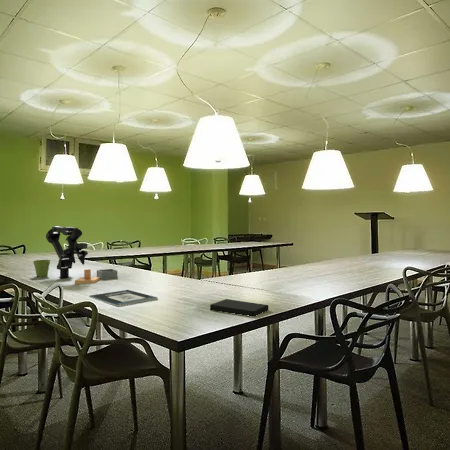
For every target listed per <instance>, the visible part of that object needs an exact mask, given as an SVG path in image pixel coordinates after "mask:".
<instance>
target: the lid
mask: <svg viewBox="0 0 450 450" xmlns="http://www.w3.org/2000/svg"><path fill="white" fill-rule="evenodd" d="M91 271H92V269H90V268H89V269H87V268H86V269H84V270H83V274H84V275H83V276H81V277H79V278H76V279H75V280H74V285H76V286H77V285H80V284H96V283H97V282H99V281H100V280H101V279H100V277H97V276H92V272H91Z"/></svg>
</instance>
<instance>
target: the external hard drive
mask: <svg viewBox="0 0 450 450" xmlns="http://www.w3.org/2000/svg"><path fill="white" fill-rule="evenodd" d="M209 307H210V311H212V310H215V311H214V312H218V311H222V312H221V313H224V312H228V313H227V314H230V313H235V314H234V315H237V314H242V315H241V316H243V315H249V316H255V317H257V316H256V315H258V314H260V313H262V312H264V313H266V312H268V311H269V304H264V303H256V302H250V301H249V302H248V301H243V300H235V299H228V298H226V299H223V300H220V301H217V302H214V303H211V304H210V306H209ZM267 310H268V311H267ZM265 311H266V312H265ZM262 314H263V313H262ZM260 315H261V314H260ZM249 316H248V317H249ZM258 316H259V315H258Z"/></svg>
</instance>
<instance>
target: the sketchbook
mask: <svg viewBox="0 0 450 450" xmlns="http://www.w3.org/2000/svg"><path fill="white" fill-rule="evenodd" d="M89 297H90V298H92V299H94V298H95V300H97V299H98V301H100V300H101V301H100V302H103V301H104V302H103V303H106V302H107V303H106V304H108V303H110V304H109V305H111V304H113V305H112V306H114V305H116V306H115V307H117V306H118V307H119V306H120V305H122V306H121V307H124V306H125V305H126V304H127V305H126V306H129V305H128V304H130V305H134V304H133V303H135V304H137V303H138V302H140V303H138V304H141V303H147V302H148V301H149V302H152V301H157V300H158V297H157V296H153V295H149V294H145V293H141V292H138V291H134V290H130V289H124V290H123V289H122V290H117V291H110V292H103V293H96V294H92V295H89ZM150 300H151V301H150ZM144 301H145V302H144ZM123 305H124V306H123Z"/></svg>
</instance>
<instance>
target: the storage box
mask: <svg viewBox="0 0 450 450" xmlns="http://www.w3.org/2000/svg"><path fill="white" fill-rule="evenodd" d="M96 277H100V280H102V281H103V280H112V279H113V280H114V279H118V270H117V269H114V268H105V269H96Z"/></svg>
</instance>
